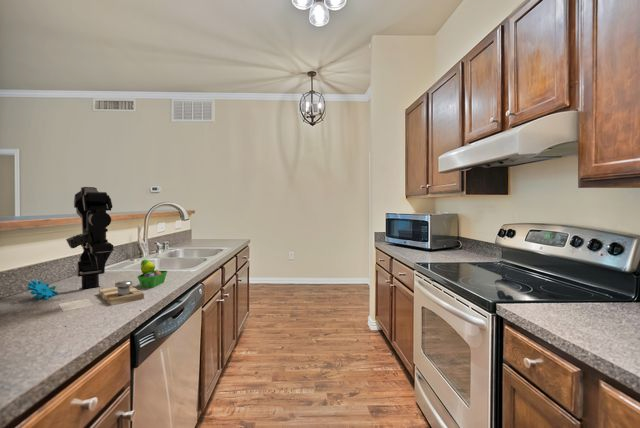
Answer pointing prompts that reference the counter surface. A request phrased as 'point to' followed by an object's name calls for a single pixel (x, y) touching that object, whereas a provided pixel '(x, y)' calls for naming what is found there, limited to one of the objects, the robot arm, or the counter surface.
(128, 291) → the peg
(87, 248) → the robot arm
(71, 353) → the counter surface
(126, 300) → the rail plate
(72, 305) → the tab
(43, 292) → the blue spiky lump
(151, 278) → the fruit basket
